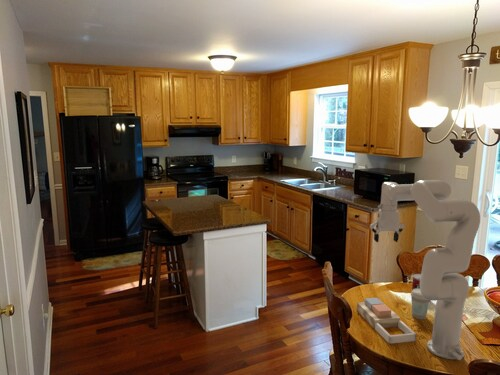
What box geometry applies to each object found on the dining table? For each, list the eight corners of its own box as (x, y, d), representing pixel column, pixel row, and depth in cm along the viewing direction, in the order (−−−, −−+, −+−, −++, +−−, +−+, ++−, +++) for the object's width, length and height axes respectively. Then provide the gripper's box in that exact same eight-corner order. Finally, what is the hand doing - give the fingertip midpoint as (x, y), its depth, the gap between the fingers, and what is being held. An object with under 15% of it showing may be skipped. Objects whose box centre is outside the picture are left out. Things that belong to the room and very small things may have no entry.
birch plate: (399, 326, 166) (400, 317, 165) (374, 328, 164) (375, 320, 163) (379, 308, 182) (380, 300, 181) (356, 310, 180) (357, 302, 179)
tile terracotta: (391, 315, 167) (391, 310, 167) (378, 316, 166) (378, 311, 166) (383, 309, 173) (384, 304, 173) (371, 310, 172) (372, 305, 171)
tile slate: (383, 308, 174) (383, 303, 173) (371, 309, 172) (371, 304, 172) (376, 302, 179) (376, 297, 179) (364, 303, 178) (364, 298, 178)
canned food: (409, 297, 195) (410, 276, 193) (414, 292, 200) (416, 272, 199) (424, 301, 190) (426, 281, 188) (429, 296, 195) (431, 276, 194)
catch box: (415, 340, 155) (416, 334, 154) (389, 343, 153) (389, 336, 152) (400, 326, 166) (400, 320, 165) (375, 329, 163) (375, 322, 163)
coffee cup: (404, 314, 177) (406, 290, 175) (417, 310, 181) (419, 286, 179) (420, 322, 169) (422, 297, 167) (433, 318, 173) (435, 293, 171)
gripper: (374, 209, 180) (371, 243, 183) (409, 209, 181) (406, 243, 184) (368, 205, 187) (366, 239, 190) (402, 205, 188) (399, 238, 191)
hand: (385, 241), depth 187 cm, fingers open, 9 cm apart
